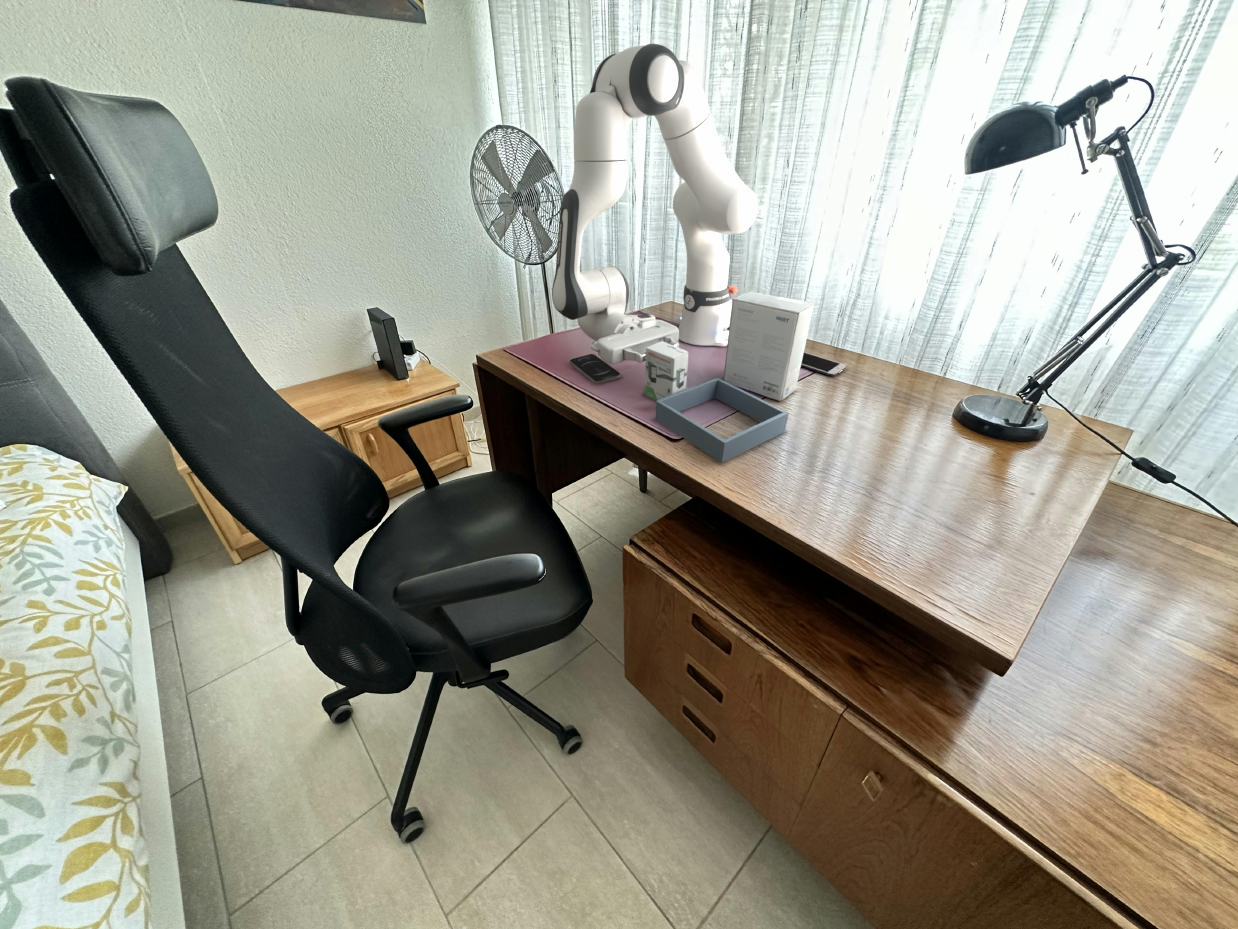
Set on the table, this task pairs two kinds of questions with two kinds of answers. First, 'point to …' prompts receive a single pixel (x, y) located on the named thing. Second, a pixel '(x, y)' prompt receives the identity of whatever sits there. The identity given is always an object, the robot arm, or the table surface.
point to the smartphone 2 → (821, 364)
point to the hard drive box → (766, 343)
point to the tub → (732, 396)
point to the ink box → (665, 370)
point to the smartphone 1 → (595, 368)
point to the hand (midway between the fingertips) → (660, 353)
